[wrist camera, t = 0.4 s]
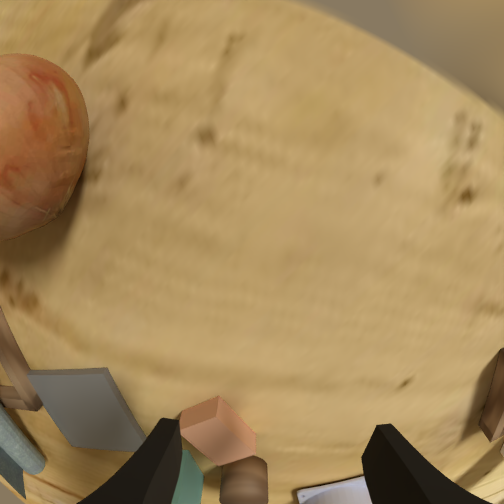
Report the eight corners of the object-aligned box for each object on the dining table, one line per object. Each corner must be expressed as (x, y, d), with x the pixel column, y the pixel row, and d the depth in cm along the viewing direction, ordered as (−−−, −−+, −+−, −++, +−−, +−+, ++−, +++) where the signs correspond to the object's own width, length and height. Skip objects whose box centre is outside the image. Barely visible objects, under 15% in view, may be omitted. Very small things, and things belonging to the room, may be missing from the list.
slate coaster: (151, 445, 23) (149, 452, 23) (74, 441, 24) (72, 446, 23) (107, 367, 21) (103, 373, 20) (29, 370, 22) (24, 374, 21)
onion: (55, 47, 15) (-48, 5, 5) (150, 128, 16) (46, 105, 7) (-14, 161, 17) (-117, 179, 7) (64, 250, 19) (-41, 314, 9)
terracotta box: (256, 431, 23) (256, 453, 20) (220, 444, 23) (218, 466, 21) (219, 393, 22) (216, 416, 19) (182, 408, 22) (176, 431, 20)
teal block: (204, 476, 25) (197, 526, 19) (161, 476, 25) (150, 522, 19) (188, 449, 23) (177, 504, 18) (142, 449, 24) (126, 499, 18)
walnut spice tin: (270, 475, 24) (271, 508, 21) (229, 478, 25) (226, 511, 21) (262, 452, 23) (263, 488, 20) (217, 456, 24) (213, 492, 20)
